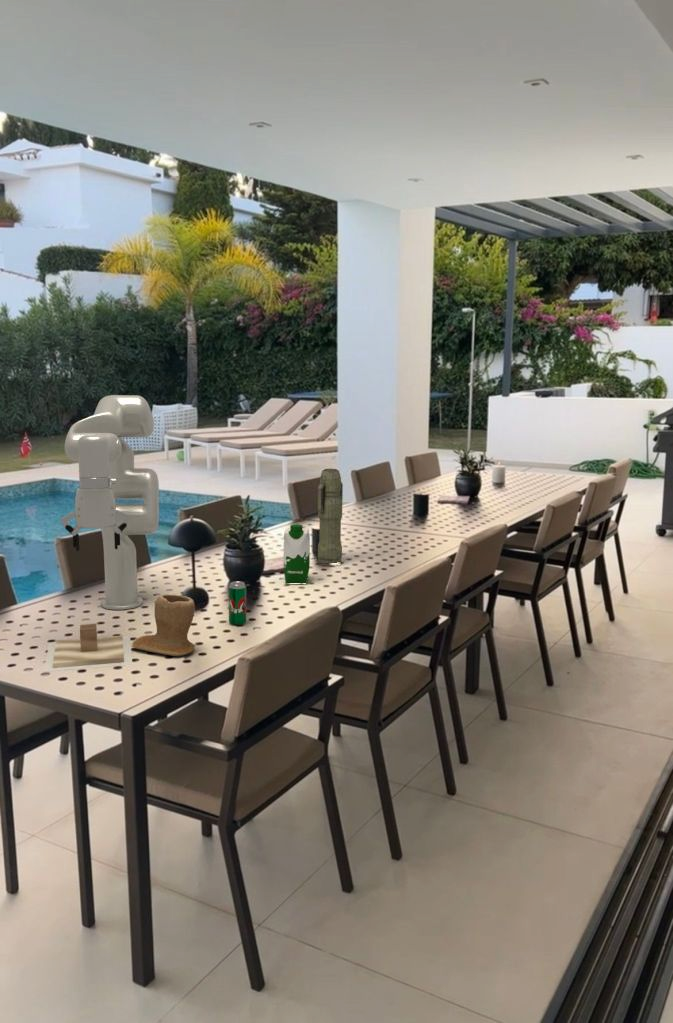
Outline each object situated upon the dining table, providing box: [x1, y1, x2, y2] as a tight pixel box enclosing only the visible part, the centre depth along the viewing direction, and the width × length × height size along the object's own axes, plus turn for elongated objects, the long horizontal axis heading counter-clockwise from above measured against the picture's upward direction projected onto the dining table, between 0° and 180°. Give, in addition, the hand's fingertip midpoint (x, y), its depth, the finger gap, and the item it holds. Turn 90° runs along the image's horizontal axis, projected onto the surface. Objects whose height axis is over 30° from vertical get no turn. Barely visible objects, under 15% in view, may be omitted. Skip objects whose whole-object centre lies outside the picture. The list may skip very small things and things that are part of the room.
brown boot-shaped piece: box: [131, 593, 196, 657], centre depth 224 cm, size 15×12×15 cm
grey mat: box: [43, 636, 133, 673], centre depth 221 cm, size 21×21×1 cm
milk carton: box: [283, 523, 311, 584], centre depth 290 cm, size 9×9×20 cm
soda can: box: [227, 580, 247, 626], centre depth 247 cm, size 5×5×12 cm
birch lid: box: [53, 623, 124, 668], centre depth 221 cm, size 17×17×7 cm
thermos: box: [317, 468, 344, 563], centre depth 312 cm, size 9×12×35 cm
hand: (97, 549), depth 222 cm, fingers open, 9 cm apart
